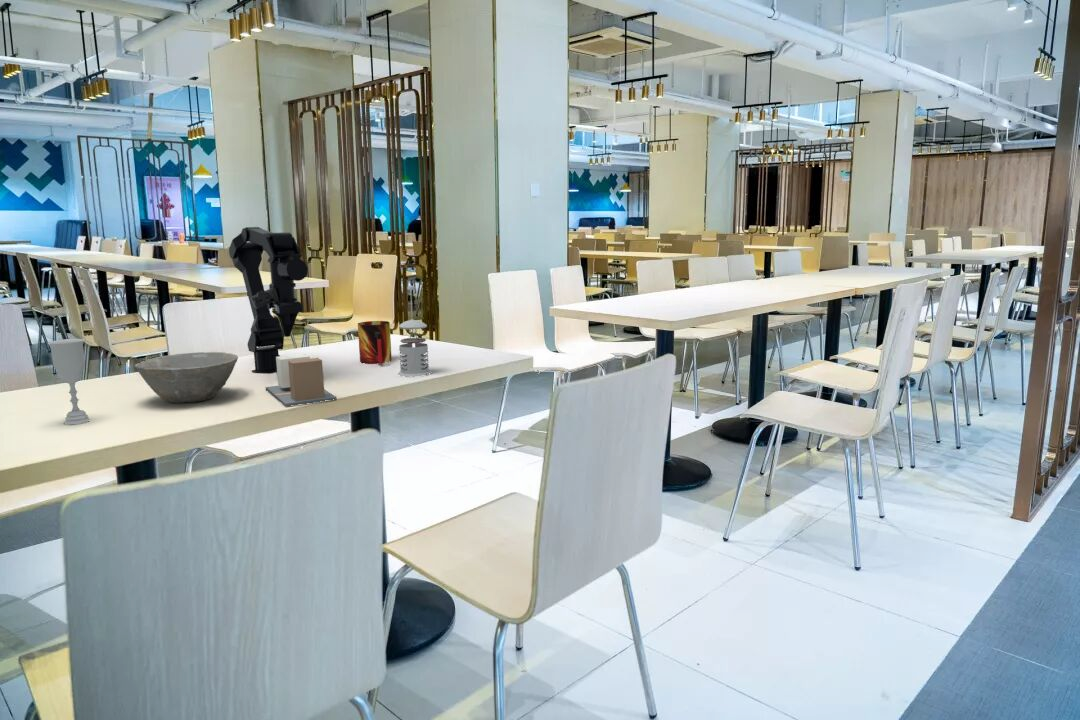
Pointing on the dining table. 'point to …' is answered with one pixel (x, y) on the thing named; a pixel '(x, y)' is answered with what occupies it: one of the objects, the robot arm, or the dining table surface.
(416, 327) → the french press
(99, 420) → the dining table surface
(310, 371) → the rod stand
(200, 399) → the ceramic bowl
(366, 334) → the mug
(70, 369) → the chalice
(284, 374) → the sleeve
